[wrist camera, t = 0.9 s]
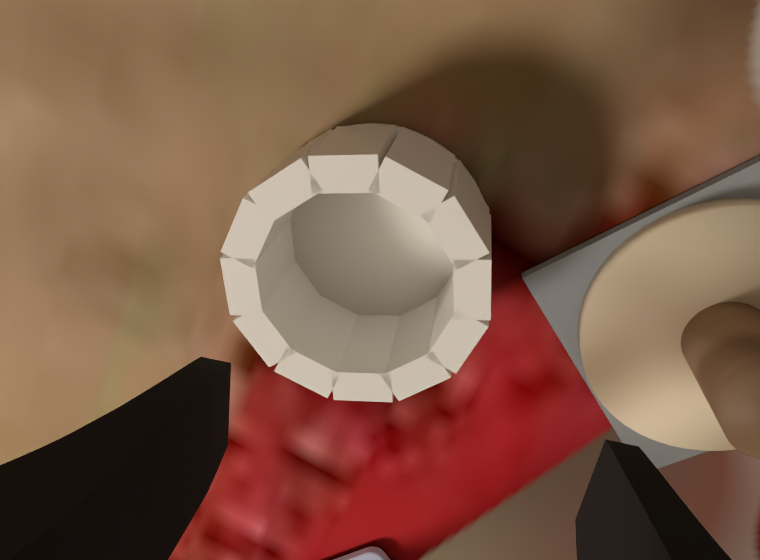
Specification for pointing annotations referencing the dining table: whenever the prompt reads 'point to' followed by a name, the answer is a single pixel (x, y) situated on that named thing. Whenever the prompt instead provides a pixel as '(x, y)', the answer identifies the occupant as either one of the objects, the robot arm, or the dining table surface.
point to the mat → (579, 265)
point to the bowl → (362, 264)
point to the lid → (681, 328)
